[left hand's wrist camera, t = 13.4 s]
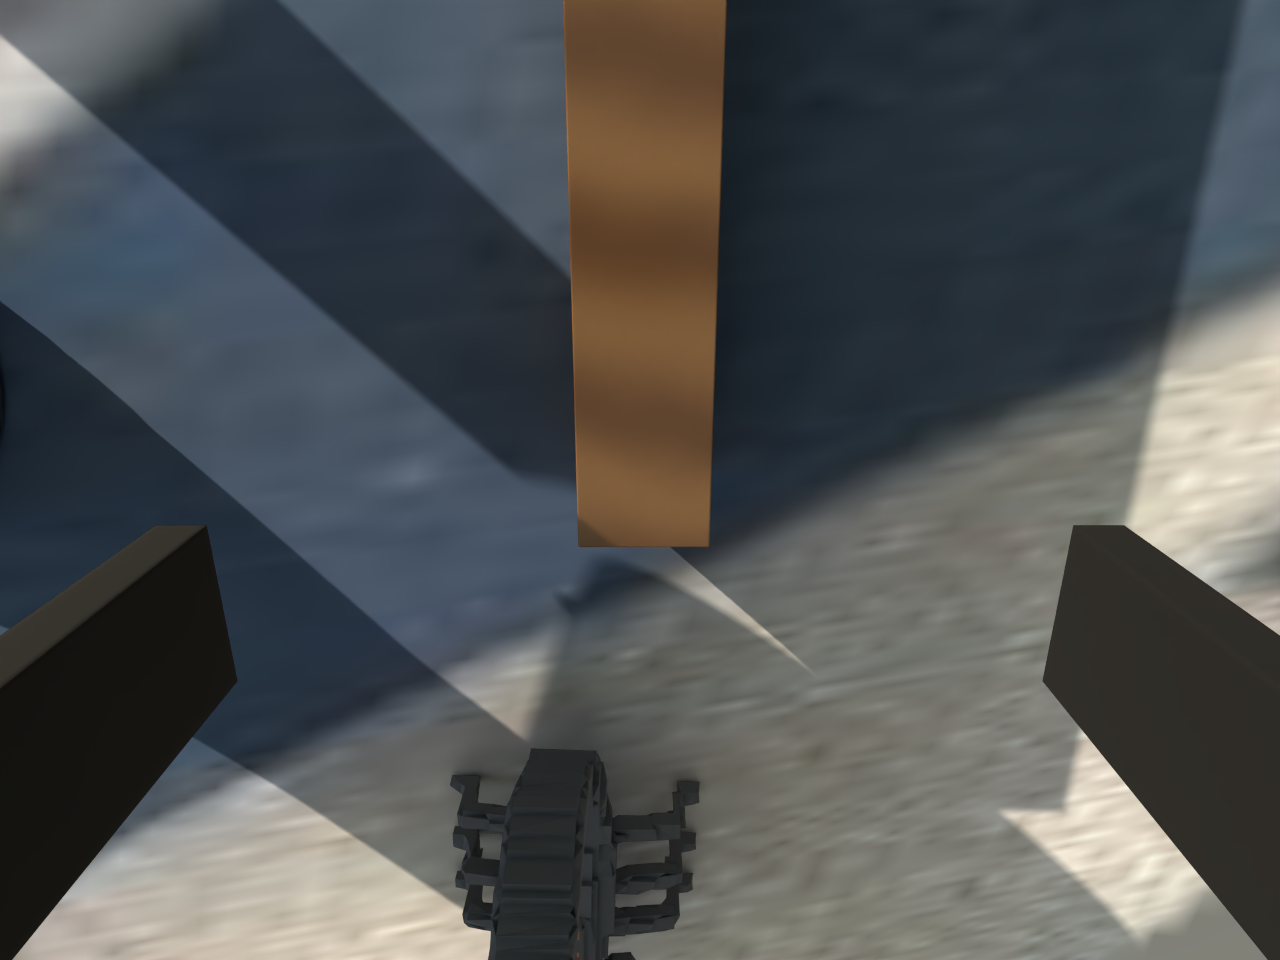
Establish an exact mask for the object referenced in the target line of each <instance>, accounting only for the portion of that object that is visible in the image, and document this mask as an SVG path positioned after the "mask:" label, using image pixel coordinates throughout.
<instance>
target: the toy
mask: <svg viewBox="0 0 1280 960" xmlns="http://www.w3.org/2000/svg"><path fill="white" fill-rule="evenodd" d="M450 786H451V787H453V788H454V789H456V790H457V791H458V792H460V793H461V794H463V796H462V800H461V803H460V807H459V810H458V814H457V817H458V822H459V825H460V826H455V829H454V832H453V845H454V847H456V848H460V849H463V850H466V854H465V857H464V860H463V862H462V871H457V875H456V879H455V881H456V887H458V888H463V889H466V890H468V894H467V898H466V902H465V906H464V910H463V914H462V915H463V920H464V923H465V924H466V925H467V926H468V927H472V928H476V929H481V930H487V931H491V941H490V951H489V958H488V960H602V958H605V959H604V960H635V958H634V957H633V955H632V954H631V952H624V953H611V954H610V955H609V956H608V938H609V936H625V935H629V934H640V933H650V932H659V931H666V930H670V929H674V925H675V923H676V921H677V920H678V918H679V916H680V911H679V893H684V892H689V891H691V890H693V886H692V876H693V873H685V874H683V872H682V856H681V852H686V851H691V850H694V849H696V844H695V842H696V833H683V832H680V829H681V828H686V824H685V807H684V806H686V805H692V804H696V803H699V782H681V781H678V789H677V792H672V793H673V811H668V813H651V814H650V815H648V816H627V815H618V816H616V817H614V818H613V817H612V807H611V804H610V801H609V798H608V795H607V778H606V774H605V769H604V765H603V762H600V758H599V756H598V754H597V752H596V751H585V750H557V749H531V752H530V758H529V760H528V762H527V764H526V766H525V768H524V770H523V772H522V774H521V775H520V777H519V779H518V781H517V783H516V786H515V788H514V791H513V794H512V796H511V799H510V801H509V803H508V806H501V805H495V804H484V803H478V794H479V786H480V782H479V776H466V775H452V779H451V784H450ZM477 829H483V830H486V833H503V837H502V845H501V855H500V860H491V859H483V858H481V857H482V851H483V848H481V849H480V839H479V832H478V830H477ZM657 840H669V849H670V856H665V863H661V862H660V863H647V864H634V865H626V866H624V867H621V868H618V869H616V860H617V843H621V842H624V841H657ZM483 885H485V886H495V889H494V895H493V903H483V902H482V890H483ZM651 889H667V897H666V899H665V900H664V901H663V903H662V904H660V905H642V906H636V907H622V908H617V907H615V894H640V893H643V892H645V891H648V890H651Z"/></svg>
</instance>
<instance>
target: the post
mask: <svg viewBox="0 0 1280 960" xmlns="http://www.w3.org/2000/svg"><path fill="white" fill-rule="evenodd" d="M563 10H564V46H565V82H566V118H567V154H568V190H569V226H570V262H571V298H572V334H573V370H574V406H575V443H576V479H577V515H578V546H579V547H709V540H710V509H711V478H712V448H713V417H714V387H715V356H716V325H717V295H718V264H719V233H720V203H721V172H722V142H723V111H724V80H725V50H726V19H727V0H563Z"/></svg>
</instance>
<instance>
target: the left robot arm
mask: <svg viewBox="0 0 1280 960" xmlns="http://www.w3.org/2000/svg"><path fill="white" fill-rule="evenodd" d="M1 421H2V390H1V382H0V428H1ZM236 682H237V677H236V672H235V666H234V661H233V656H232V651H231V646H230V641H229V636H228V631H227V626H226V621H225V616H224V611H223V606H222V601H221V596H220V591H219V586H218V581H217V576H216V571H215V566H214V561H213V556H212V551H211V546H210V540H209V535H208V530H207V525H156V526H154V527H153V528H152V529H150V530H149V531H147V532H146V533H145V534H143V535H142V536H140V537H139V538H137V539H136V540H135V541H133V542H132V543H130V544H129V545H128V546H126V547H125V548H123V549H122V550H120V551H119V552H118V553H116V554H115V555H113V556H112V557H111V558H109V559H108V560H106V561H105V562H104V563H102V564H101V565H99V566H98V567H96V568H95V569H94V570H92V571H91V572H89V573H88V574H87V575H85V576H84V577H82V578H81V579H79V580H78V581H77V582H75V583H74V584H72V585H71V586H70V587H68V588H67V589H65V590H64V591H63V592H61V593H60V594H58V595H57V596H55V597H54V598H53V599H51V600H50V601H48V602H47V603H46V604H44V605H43V606H41V607H40V608H39V609H37V610H36V611H34V612H33V613H31V614H30V615H29V616H27V617H26V618H24V619H23V620H22V621H20V622H19V623H17V624H16V625H14V626H13V627H12V628H10V629H9V630H7V631H6V632H5V633H3V634H2V635H0V960H12V959H13V958H14V957H15V956H16V954H17V953H18V952H19V951H20V949H21V948H22V947H23V946H24V944H25V943H26V942H27V941H28V940H29V938H30V937H31V936H32V935H33V933H34V932H35V931H36V930H37V928H38V927H39V926H40V925H41V923H42V922H43V921H44V920H45V919H46V917H47V916H48V915H49V914H50V912H51V911H52V910H53V909H54V907H55V906H56V905H57V904H58V902H59V901H60V900H61V899H62V897H63V896H64V895H65V894H66V893H67V891H68V890H69V889H70V888H71V886H72V885H73V884H74V883H75V881H76V880H77V879H78V878H79V876H80V875H81V874H82V873H83V871H84V870H85V869H86V868H87V867H88V865H89V864H90V863H91V862H92V860H93V859H94V858H95V857H96V855H97V854H98V853H99V852H100V850H101V849H102V848H103V847H104V846H105V844H106V843H107V842H108V841H109V839H110V838H111V837H112V836H113V834H114V833H115V832H116V831H117V829H118V828H119V827H120V826H121V824H122V823H123V822H124V821H125V820H126V818H127V817H128V816H129V815H130V813H131V812H132V811H133V810H134V808H135V807H136V806H137V805H138V803H139V802H140V801H141V800H142V798H143V797H144V796H145V795H146V794H147V792H148V791H149V790H150V789H151V787H152V786H153V785H154V784H155V782H156V781H157V780H158V779H159V777H160V776H161V775H162V774H163V773H164V771H165V770H166V769H167V768H168V766H169V765H170V764H171V763H172V761H173V760H174V759H175V758H176V756H177V755H178V754H179V753H180V751H181V750H182V749H183V748H184V747H185V745H186V744H187V743H188V742H189V740H190V739H191V738H192V737H193V735H194V734H195V733H196V732H197V730H198V729H199V728H200V727H201V725H202V724H203V723H204V722H205V721H206V719H207V718H208V717H209V716H210V714H211V713H212V712H213V711H214V709H215V708H216V707H217V706H218V704H219V703H220V702H221V701H222V700H223V698H224V697H225V696H226V695H227V693H228V692H229V691H230V690H231V688H232V687H233V686H234V685H235V683H236ZM1043 682H1044V683H1045V685H1046V686H1047V687H1048V688H1049V690H1050V691H1051V692H1052V693H1053V695H1054V696H1055V697H1056V698H1057V700H1058V701H1059V702H1060V703H1061V704H1062V706H1063V707H1064V708H1065V709H1066V711H1067V712H1068V713H1069V714H1070V716H1071V717H1072V718H1073V719H1074V721H1075V722H1076V723H1077V724H1078V725H1079V727H1080V728H1081V729H1082V730H1083V732H1084V733H1085V734H1086V735H1087V737H1088V738H1089V739H1090V740H1091V742H1092V743H1093V744H1094V745H1095V747H1096V748H1097V749H1098V750H1099V751H1100V753H1101V754H1102V755H1103V756H1104V758H1105V759H1106V760H1107V761H1108V763H1109V764H1110V765H1111V766H1112V768H1113V769H1114V770H1115V771H1116V773H1117V774H1118V775H1119V776H1120V777H1121V779H1122V780H1123V781H1124V782H1125V784H1126V785H1127V786H1128V787H1129V789H1130V790H1131V791H1132V792H1133V794H1134V795H1135V796H1136V797H1137V798H1138V800H1139V801H1140V802H1141V803H1142V805H1143V806H1144V807H1145V808H1146V810H1147V811H1148V812H1149V813H1150V815H1151V816H1152V817H1153V818H1154V820H1155V821H1156V822H1157V823H1158V824H1159V826H1160V827H1161V828H1162V829H1163V831H1164V832H1165V833H1166V834H1167V836H1168V837H1169V838H1170V839H1171V841H1172V842H1173V843H1174V844H1175V846H1176V847H1177V848H1178V849H1179V850H1180V852H1181V853H1182V854H1183V855H1184V857H1185V858H1186V859H1187V860H1188V862H1189V863H1190V864H1191V865H1192V867H1193V868H1194V869H1195V870H1196V871H1197V873H1198V874H1199V875H1200V876H1201V878H1202V879H1203V880H1204V881H1205V883H1206V884H1207V885H1208V886H1209V888H1210V889H1211V890H1212V891H1213V893H1214V894H1215V895H1216V896H1217V897H1218V899H1219V900H1220V901H1221V902H1222V904H1223V905H1224V906H1225V907H1226V909H1227V910H1228V911H1229V912H1230V914H1231V915H1232V916H1233V917H1234V919H1235V920H1236V921H1237V922H1238V923H1239V925H1240V926H1241V927H1242V928H1243V930H1244V931H1245V932H1246V933H1247V935H1248V936H1249V937H1250V938H1251V940H1252V941H1253V942H1254V943H1255V944H1256V946H1257V947H1258V948H1259V949H1260V951H1261V952H1262V953H1263V954H1264V956H1265V957H1266V958H1267V959H1268V960H1280V635H1278V634H1277V633H1275V632H1274V631H1273V630H1271V629H1270V628H1268V627H1267V626H1266V625H1264V624H1263V623H1261V622H1260V621H1258V620H1257V619H1256V618H1254V617H1253V616H1251V615H1250V614H1249V613H1247V612H1246V611H1244V610H1243V609H1241V608H1240V607H1239V606H1237V605H1236V604H1234V603H1233V602H1232V601H1230V600H1229V599H1227V598H1226V597H1225V596H1223V595H1222V594H1220V593H1219V592H1217V591H1216V590H1215V589H1213V588H1212V587H1210V586H1209V585H1208V584H1206V583H1205V582H1203V581H1202V580H1201V579H1199V578H1198V577H1196V576H1195V575H1193V574H1192V573H1191V572H1189V571H1188V570H1186V569H1185V568H1184V567H1182V566H1181V565H1179V564H1178V563H1176V562H1175V561H1174V560H1172V559H1171V558H1169V557H1168V556H1167V555H1165V554H1164V553H1162V552H1161V551H1160V550H1158V549H1157V548H1155V547H1154V546H1152V545H1151V544H1150V543H1148V542H1147V541H1145V540H1144V539H1143V538H1141V537H1140V536H1138V535H1137V534H1135V533H1134V532H1133V531H1131V530H1130V529H1128V528H1127V527H1126V526H1124V525H1073V530H1072V535H1071V540H1070V546H1069V551H1068V556H1067V561H1066V566H1065V571H1064V576H1063V581H1062V586H1061V591H1060V596H1059V601H1058V606H1057V611H1056V616H1055V621H1054V626H1053V631H1052V636H1051V641H1050V646H1049V651H1048V656H1047V661H1046V666H1045V672H1044V677H1043Z"/></svg>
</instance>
